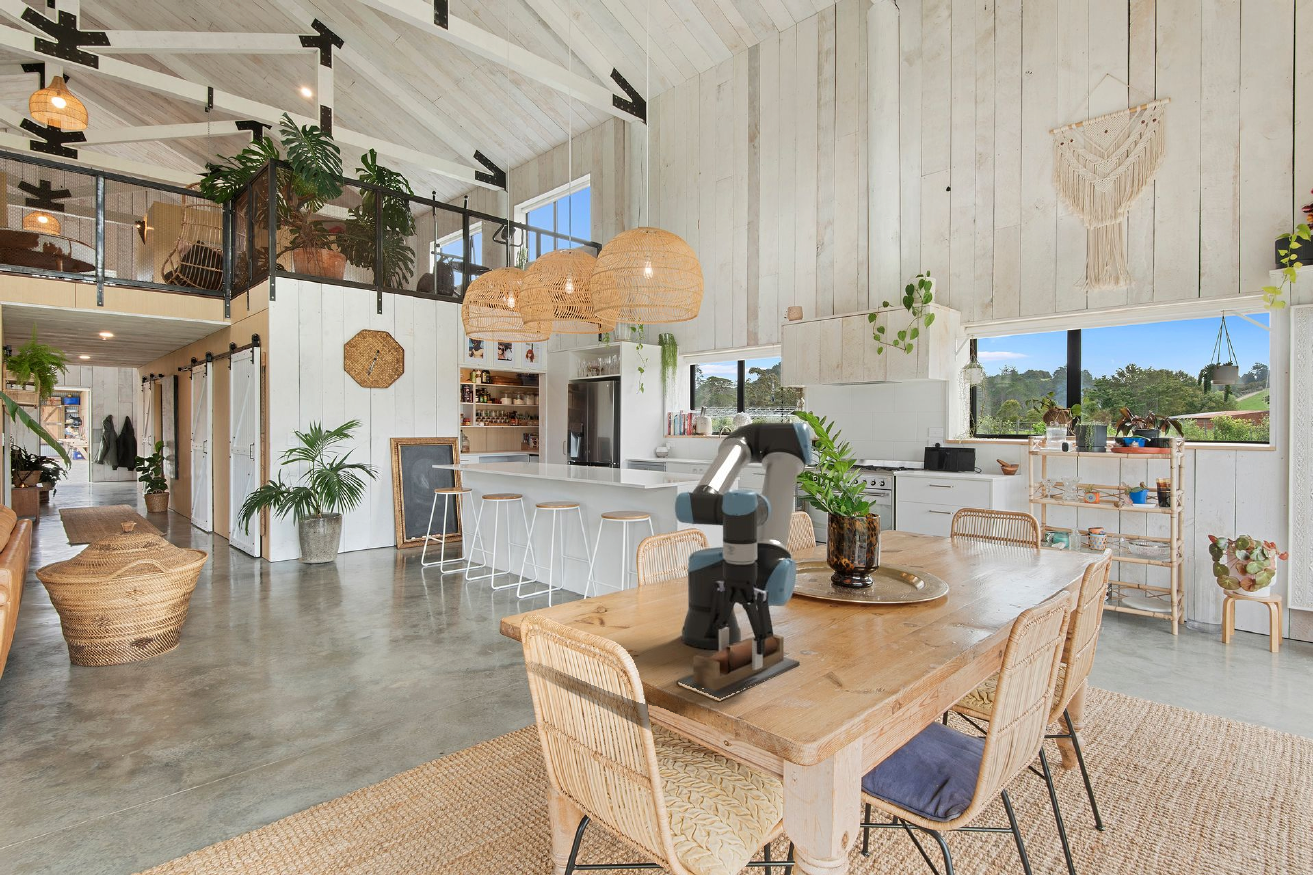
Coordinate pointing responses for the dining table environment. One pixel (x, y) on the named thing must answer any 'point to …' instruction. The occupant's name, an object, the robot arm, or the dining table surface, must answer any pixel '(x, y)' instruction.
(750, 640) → the sunglasses case
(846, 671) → the dining table surface
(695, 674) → the case stand
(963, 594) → the dining table surface
